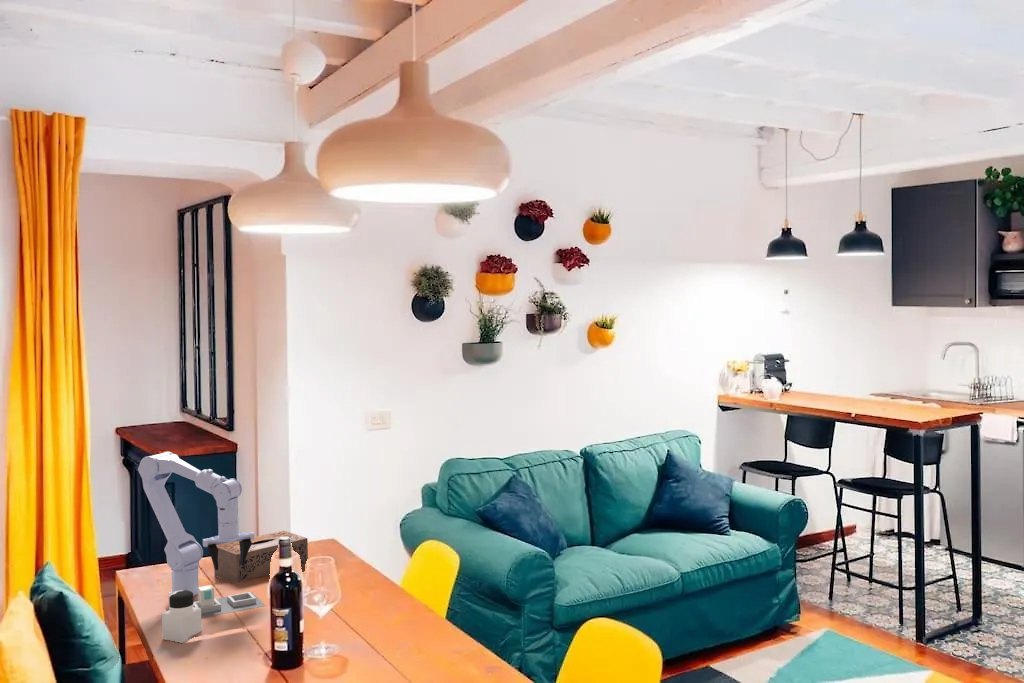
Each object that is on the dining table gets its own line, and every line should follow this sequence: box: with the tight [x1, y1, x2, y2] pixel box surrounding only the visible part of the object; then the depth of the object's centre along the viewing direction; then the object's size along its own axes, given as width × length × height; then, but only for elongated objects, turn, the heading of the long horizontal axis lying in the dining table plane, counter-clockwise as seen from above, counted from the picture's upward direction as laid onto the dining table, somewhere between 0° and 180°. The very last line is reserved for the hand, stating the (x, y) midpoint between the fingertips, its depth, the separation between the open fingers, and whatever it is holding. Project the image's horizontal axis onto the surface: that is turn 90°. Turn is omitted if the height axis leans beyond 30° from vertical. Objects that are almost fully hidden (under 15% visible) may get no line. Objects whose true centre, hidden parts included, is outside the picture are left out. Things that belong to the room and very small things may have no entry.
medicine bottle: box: [161, 590, 203, 644], centre depth 239 cm, size 7×7×12 cm
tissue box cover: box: [213, 530, 309, 584], centre depth 296 cm, size 26×14×10 cm, turn 136°
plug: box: [197, 584, 215, 608], centre depth 258 cm, size 4×4×6 cm
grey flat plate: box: [193, 591, 267, 619], centre depth 261 cm, size 14×20×2 cm
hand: (229, 567), depth 267 cm, fingers open, 7 cm apart
